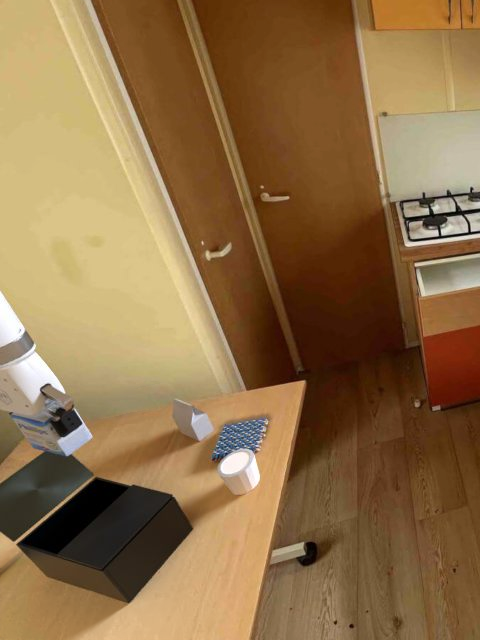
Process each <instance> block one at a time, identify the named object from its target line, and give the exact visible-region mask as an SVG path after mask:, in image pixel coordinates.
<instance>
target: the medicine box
mask: <svg viewBox="0 0 480 640" xmlns="http://www.w3.org/2000/svg"><path fill="white" fill-rule="evenodd" d="M51 401H52V400H51V399H49V398H48V399H47V400H45V405H46V404H48V403H49V402H51ZM58 408H59V406H58V404H57V403H55V404H53V405H52V406H50V407H49V409H51V410H52V411H53V412H54V413H55V412H56V410H57V409H58ZM74 410H75V412H76V413H77V415H78V416H79V418H80V419H81V421H82V425H81V426H80V427H78V428H77V429H76V430H74V431H73V432H71V433H70V434H69V435H67V436H66V437H60V436H59V435H58V433H57V432H56V430H55V429H54V427H53V426H52V425H51V423H50V421H51V420H52V419H50V418H49V417H48V416H47V415H45V414H44V413H43V412H42V411H41V412H40V413H39V414H37V415H24V414H19V413H14V412H13V413H12V414H11V415H10V414H9V416H10V418H11V419H12V420H13V422H14V424H15V425H16V427H18V429H19V431H20V432H21V433H22V434H23V436H24V437H25V438H26V440H27V441H28V443H29V444H30V445H31V447H32V448H33V449H35V450H38V451H42V452H44V451H46V452H50V453H54V454H58V455H62V456H69V455H70V454H72V455H73V453H75V452H76V451H77V450H79V449H80V448H82V447H83V446H84V445H85V444H87V443H88V442H89V441H91V440H92V439H93V435H92V433H91V432H90V429H89V428H88V427H87V425H86V424H85V422H84V421H83V419H82V418H81V416H80V414H79V412H78V411H77V409H76V408H75V409H74Z"/></svg>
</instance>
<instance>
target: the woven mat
mask: <svg viewBox="0 0 480 640" xmlns="http://www.w3.org/2000/svg"><path fill="white" fill-rule="evenodd" d="M268 425H269V420H268V419H267V417H265V416H264V417H260V418H257V419H256V418H253V419H250V420H248V419H247V420H245V421H244V420H243V421H239V422H232V423H229V424H227V423H225V424H224V427H221V431H220V434H218V439H217V442H216V445H215V446H214V450H213V452H212V453H211V458H210V462H213V463H214V462H221V460H222V459H224V458H225V457H226V456H227V455H228V454H230V453H232V452H233V451H236V450H239V449H249V450H252V452H253V453H254V455H255V454H257V453H259V452H260V451H261V447H262V446H261V444H262V443H263V438H265V437H266V434H265V433H266V431H267V426H268Z"/></svg>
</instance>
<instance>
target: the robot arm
mask: <svg viewBox="0 0 480 640" xmlns="http://www.w3.org/2000/svg"><path fill="white" fill-rule="evenodd" d="M36 347H37V345H36V343H35V342H34V340H33V338H32V337H31V335H30V334H29V332H28V331H27V329H26V328H25V326H24V325H23V323H22V322H21V320H20V319H19V317H18V316H17V314H16V312H15V311H14V309H13V308H12V306H11V305H10V303H9V302H8V301H7V299H6V297H5V295H4V294H3V292H2V291H1V290H0V411H3V412H4V411H5V412H8V414H9V416H10V415H11V414H12V413H13V412H14V413H19V414H24V415H37V414H39V413H40V412H41V411H42V412H43V413H44V414H45V415H47V416H48V417H49V418H50V419H52V420H51V421H50V423H51V425H52V426H53V427H54V429H55V430H56V432H57V433H58V435H59V436H60V437H66V436H67V435H69V434H70V433H71V432H73V431H74V430H76V429H77V428H78V427H80V426H81V425H82V421H83V420H82V421H81V419H82V418H81V419H80V418H79V416H80V415H79V416H78V415H77V413H76V412H75V410H74V409H76V407H75V404H74V398H72V397H71V396H70V395H68V394H66V390H65V388H64V387H63V385H62V383H61V382H60V380H59V378H58V377H57V376H56V374H55V373H54V372H53V371H52V370H51V368H50V367H49V366H48V365H47V363H46V362H45V361H44V360H43V358H41V357H40V355H39V354H38V353H37V352H36V351H35V350H36ZM47 399H48V400H52V401H51V402H49V403H48V404H46V405H45V400H47ZM55 403H57V404H58V406H59V408H58V409H57V410H56V412H55V413H54V412H53V411H52V410H51V409H49V407H50V406H52V405H53V404H55Z"/></svg>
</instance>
